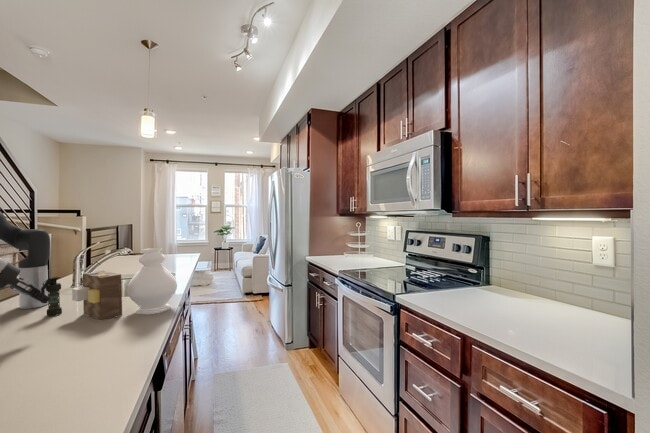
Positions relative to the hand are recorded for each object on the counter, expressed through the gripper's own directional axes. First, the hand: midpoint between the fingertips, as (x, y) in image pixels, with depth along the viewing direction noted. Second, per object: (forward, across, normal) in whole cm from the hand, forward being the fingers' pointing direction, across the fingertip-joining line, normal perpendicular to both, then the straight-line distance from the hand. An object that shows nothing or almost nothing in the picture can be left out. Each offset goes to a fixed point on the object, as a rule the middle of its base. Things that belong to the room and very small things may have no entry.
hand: (47, 300), depth 105 cm
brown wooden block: (+20, -4, +5) cm, 21 cm away
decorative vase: (+30, +7, +15) cm, 34 cm away
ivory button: (+12, -8, +7) cm, 16 cm away
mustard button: (+14, 0, +8) cm, 16 cm away
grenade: (+13, -22, -2) cm, 25 cm away
